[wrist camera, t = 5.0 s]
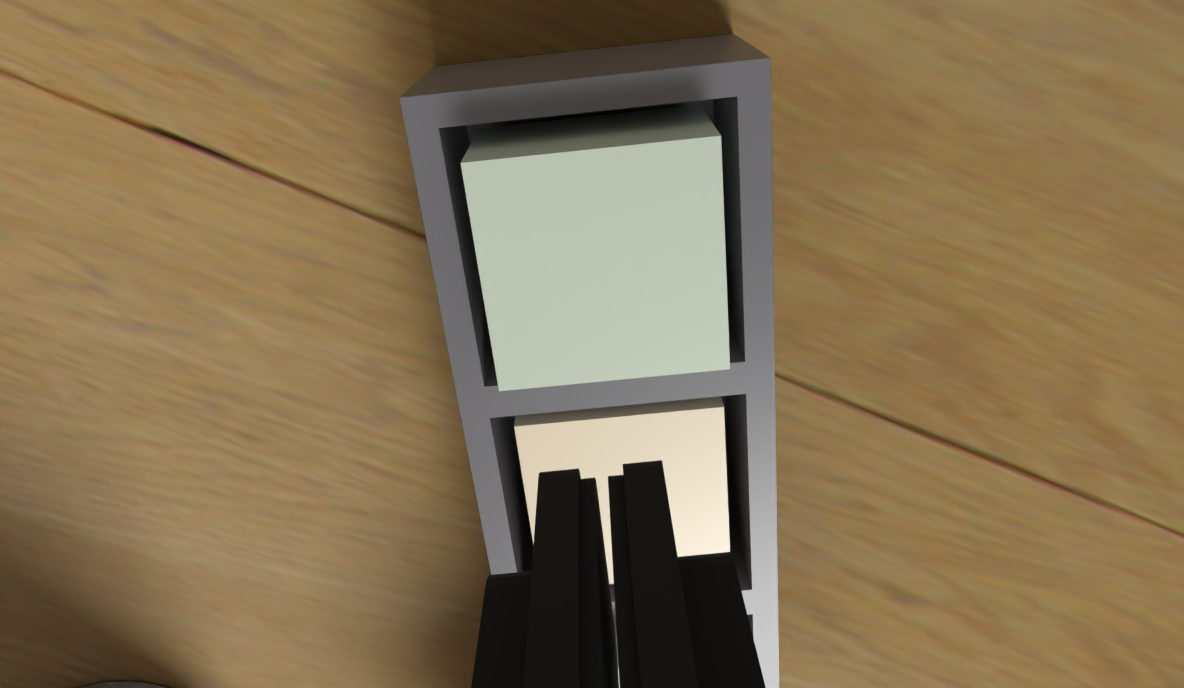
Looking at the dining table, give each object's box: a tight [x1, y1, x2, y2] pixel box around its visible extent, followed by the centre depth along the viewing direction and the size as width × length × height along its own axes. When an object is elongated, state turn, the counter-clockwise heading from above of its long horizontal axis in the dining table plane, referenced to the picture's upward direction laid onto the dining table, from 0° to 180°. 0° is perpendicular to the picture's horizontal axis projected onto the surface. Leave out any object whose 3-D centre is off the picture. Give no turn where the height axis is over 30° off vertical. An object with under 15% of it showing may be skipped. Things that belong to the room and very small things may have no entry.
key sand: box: [514, 396, 730, 584], centre depth 28 cm, size 6×6×4 cm
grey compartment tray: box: [399, 34, 779, 688], centre depth 28 cm, size 9×25×6 cm, turn 6°
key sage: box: [461, 105, 730, 391], centre depth 23 cm, size 6×6×4 cm
